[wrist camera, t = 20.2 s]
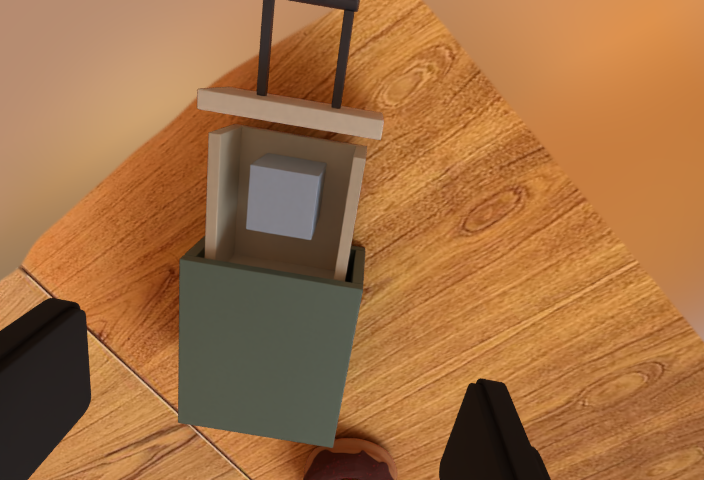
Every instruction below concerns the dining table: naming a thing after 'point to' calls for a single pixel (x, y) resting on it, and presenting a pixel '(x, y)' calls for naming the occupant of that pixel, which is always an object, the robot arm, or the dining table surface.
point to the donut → (350, 462)
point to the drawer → (252, 143)
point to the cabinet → (265, 347)
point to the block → (285, 195)
